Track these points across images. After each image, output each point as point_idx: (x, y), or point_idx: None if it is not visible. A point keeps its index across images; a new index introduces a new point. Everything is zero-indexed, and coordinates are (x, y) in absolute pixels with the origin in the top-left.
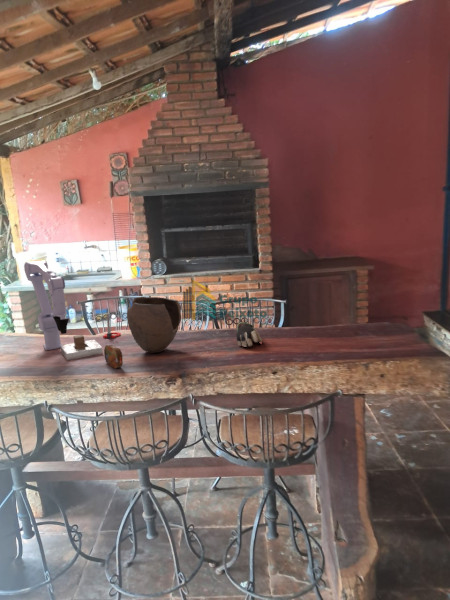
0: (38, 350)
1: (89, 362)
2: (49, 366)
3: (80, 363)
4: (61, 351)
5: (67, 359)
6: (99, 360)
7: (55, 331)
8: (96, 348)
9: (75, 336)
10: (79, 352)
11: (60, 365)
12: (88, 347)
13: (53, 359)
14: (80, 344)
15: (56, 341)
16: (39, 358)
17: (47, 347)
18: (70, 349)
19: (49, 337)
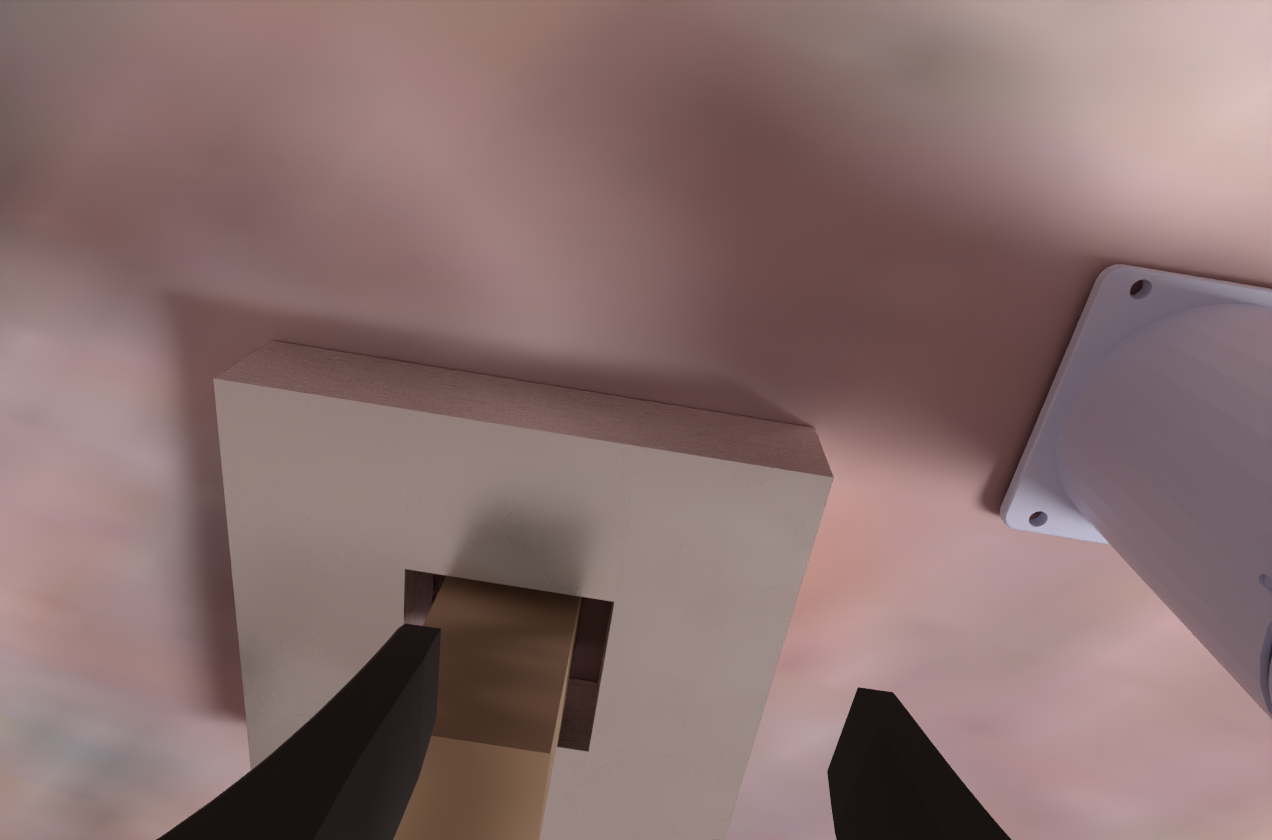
0: (1268, 154)
1: (9, 517)
2: (97, 9)
3: (20, 425)
4: (764, 424)
5: (265, 352)
6: (34, 620)
7: (1249, 651)
8: (249, 750)
9: (494, 766)
10: (238, 552)
11: (62, 179)
12: None
13: (463, 194)
14: None
15: (1109, 506)
16: (715, 4)
17: (1175, 319)
18: (437, 510)
19: (1240, 449)
